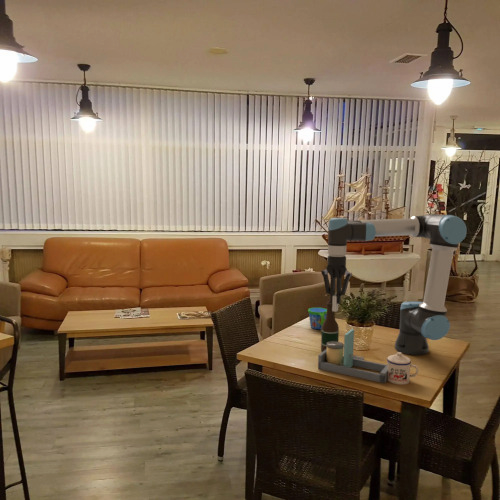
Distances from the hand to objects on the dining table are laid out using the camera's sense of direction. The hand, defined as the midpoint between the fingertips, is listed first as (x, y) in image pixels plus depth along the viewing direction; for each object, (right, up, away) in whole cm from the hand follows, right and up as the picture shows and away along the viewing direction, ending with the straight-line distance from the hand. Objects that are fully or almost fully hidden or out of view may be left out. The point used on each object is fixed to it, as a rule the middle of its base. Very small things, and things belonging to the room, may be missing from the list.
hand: (335, 310), depth 194 cm
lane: (+8, -25, -2) cm, 26 cm away
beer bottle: (+1, -22, +19) cm, 29 cm away
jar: (0, -24, +3) cm, 24 cm away
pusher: (+8, -25, -2) cm, 26 cm away
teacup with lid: (+24, -27, -11) cm, 38 cm away
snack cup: (+1, -17, +58) cm, 61 cm away
